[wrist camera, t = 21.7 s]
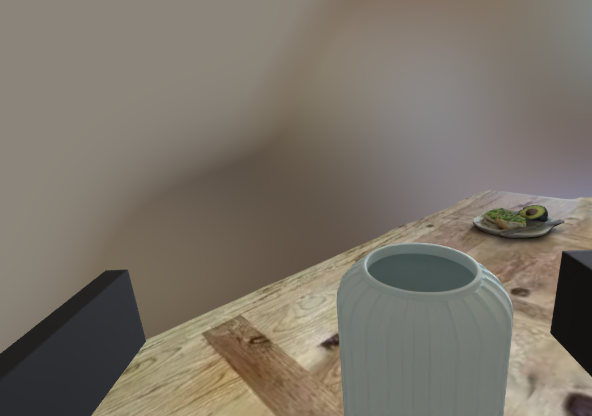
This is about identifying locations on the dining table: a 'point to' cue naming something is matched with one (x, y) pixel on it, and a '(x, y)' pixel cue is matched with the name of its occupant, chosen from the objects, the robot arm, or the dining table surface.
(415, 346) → the vase
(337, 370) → the dining table surface
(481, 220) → the avocado toast plate
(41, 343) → the robot arm
